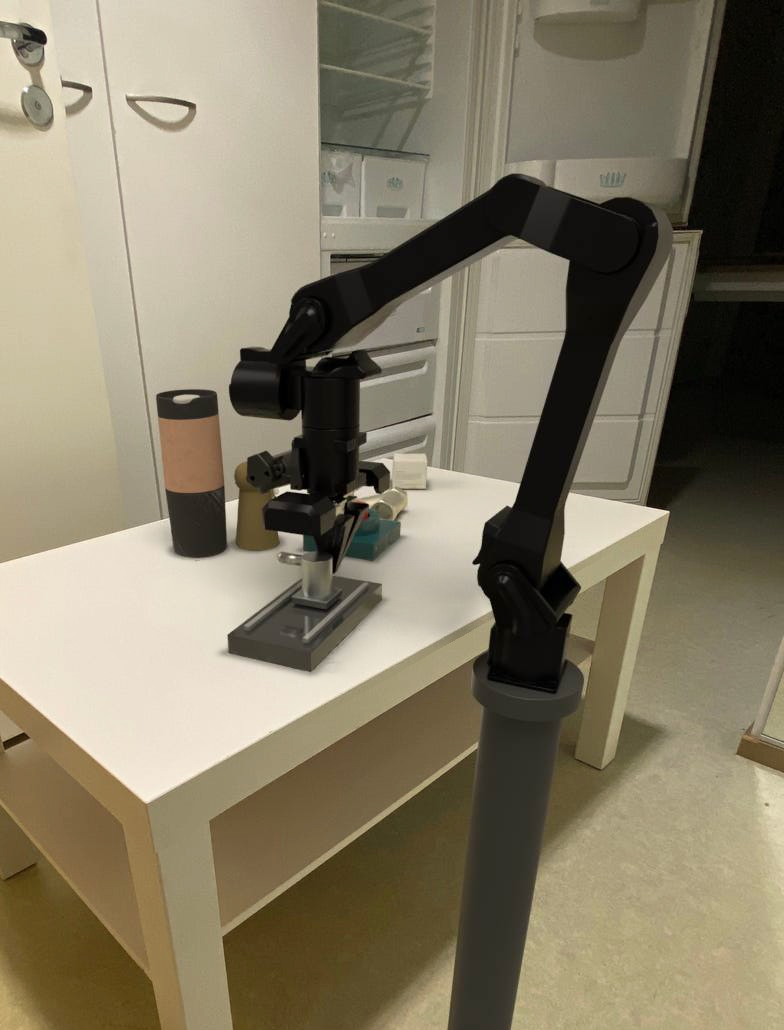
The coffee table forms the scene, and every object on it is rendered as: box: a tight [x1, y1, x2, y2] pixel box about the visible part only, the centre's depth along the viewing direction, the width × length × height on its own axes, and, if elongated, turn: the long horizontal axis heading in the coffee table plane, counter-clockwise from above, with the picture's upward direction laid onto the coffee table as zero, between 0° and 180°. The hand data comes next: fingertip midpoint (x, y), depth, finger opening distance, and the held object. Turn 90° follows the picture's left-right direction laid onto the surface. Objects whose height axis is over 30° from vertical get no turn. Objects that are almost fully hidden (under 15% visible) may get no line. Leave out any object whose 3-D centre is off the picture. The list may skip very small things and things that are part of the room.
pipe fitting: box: [357, 486, 409, 521], centre depth 108 cm, size 8×4×7 cm
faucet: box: [276, 551, 342, 609], centre depth 76 cm, size 7×4×5 cm, turn 63°
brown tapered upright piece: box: [233, 461, 281, 551], centre depth 97 cm, size 6×6×11 cm
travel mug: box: [155, 388, 228, 558], centre depth 93 cm, size 8×8×20 cm
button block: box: [302, 509, 402, 561], centre depth 98 cm, size 10×10×4 cm
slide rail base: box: [226, 574, 383, 672], centre depth 76 cm, size 9×18×2 cm, turn 153°
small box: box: [391, 453, 428, 490], centre depth 123 cm, size 6×6×5 cm
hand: (331, 572), depth 78 cm, fingers closed
